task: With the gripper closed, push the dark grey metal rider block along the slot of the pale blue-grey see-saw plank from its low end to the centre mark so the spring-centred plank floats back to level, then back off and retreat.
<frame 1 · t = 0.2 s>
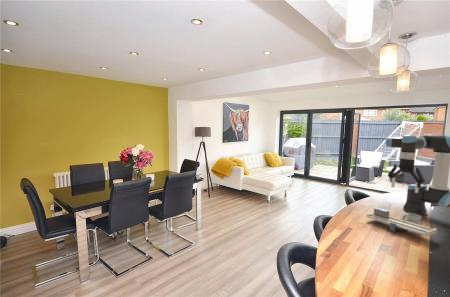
hand: (404, 189, 151), 28 cm above the kitchen island, fingers open, 13 cm apart
cup: (410, 226, 158), on the kitchen island
fulcrum: (398, 229, 153), on the kitchen island
beam: (398, 222, 153), point 5 cm above the kitchen island, hinge at 2.6°, touching rider
rider: (381, 217, 162), point 5 cm above the kitchen island, touching beam
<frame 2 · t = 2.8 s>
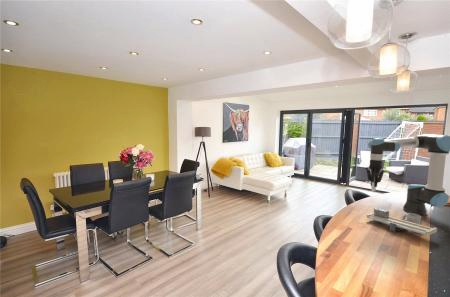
hand: (373, 190, 167), 22 cm above the kitchen island, fingers closed
beam: (398, 222, 153), point 5 cm above the kitchen island, hinge at 4.1°, touching rider
everything else where it was.
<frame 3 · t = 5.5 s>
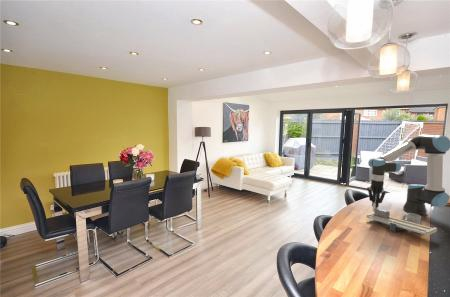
hand: (374, 211, 166), 7 cm above the kitchen island, fingers closed
beam: (398, 222, 153), point 5 cm above the kitchen island, hinge at 4.3°
rider: (381, 217, 162), point 4 cm above the kitchen island, touching gripper
everything else where it was.
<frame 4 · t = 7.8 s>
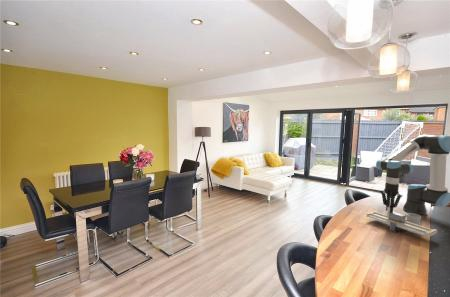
hand: (388, 215, 158), 7 cm above the kitchen island, fingers closed
beam: (398, 222, 152), point 5 cm above the kitchen island, hinge at 1.1°, touching rider
rider: (396, 221, 154), point 5 cm above the kitchen island, touching beam, gripper
everything else where it was.
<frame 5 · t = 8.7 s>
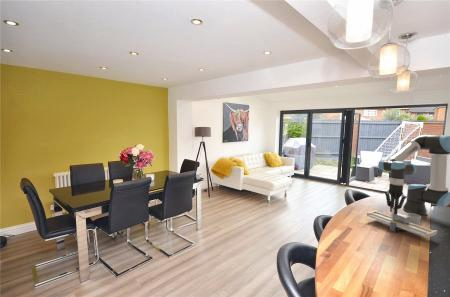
hand: (393, 217, 155), 7 cm above the kitchen island, fingers closed
beam: (398, 222, 152), point 5 cm above the kitchen island, hinge at -0.7°, touching rider
rider: (400, 222, 151), point 5 cm above the kitchen island, touching beam
everything else where it was.
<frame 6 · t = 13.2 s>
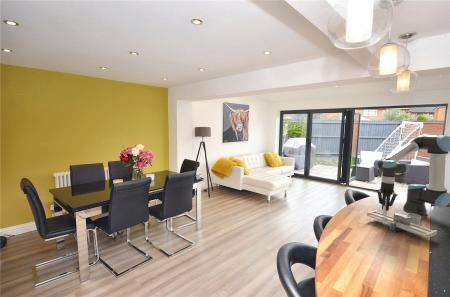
hand: (384, 214, 160), 7 cm above the kitchen island, fingers closed
nothing on the kitchen island moved.
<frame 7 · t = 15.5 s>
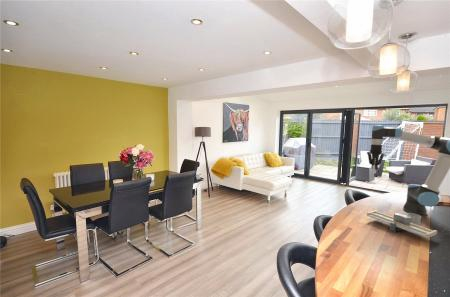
hand: (374, 173, 182), 32 cm above the kitchen island, fingers closed
nothing on the kitchen island moved.
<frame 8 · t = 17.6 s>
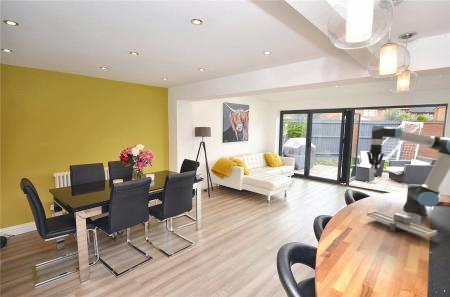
hand: (373, 173, 182), 32 cm above the kitchen island, fingers closed
nothing on the kitchen island moved.
at the end: beam at -1° (first picture: +2°); rider inside the target area on the beam (1.6 cm from its centre), point 1.2 cm above the beam's base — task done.
